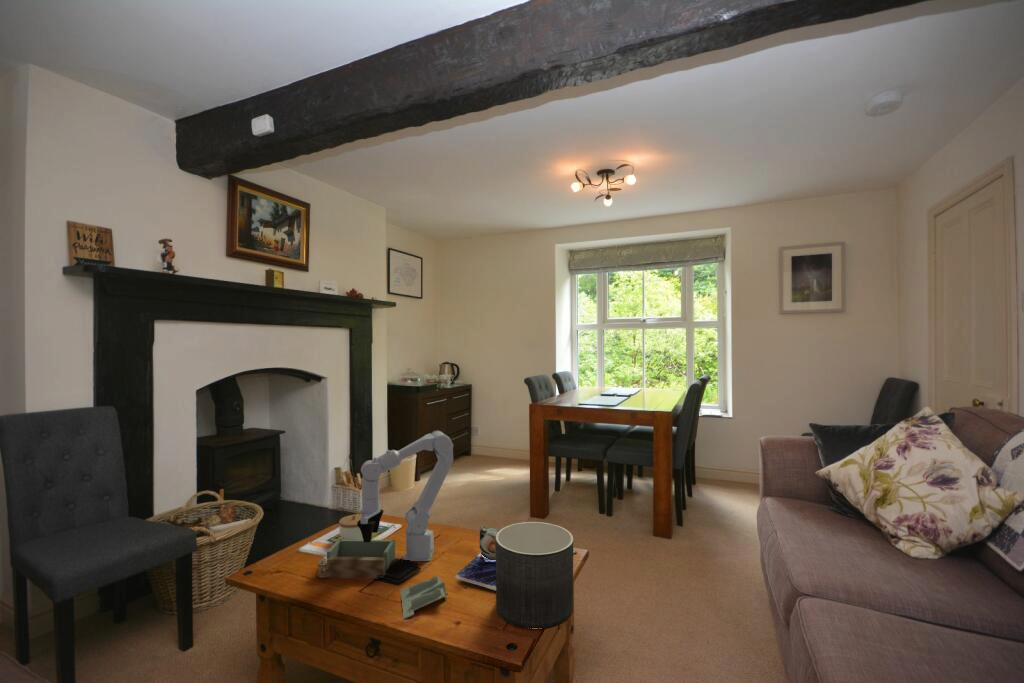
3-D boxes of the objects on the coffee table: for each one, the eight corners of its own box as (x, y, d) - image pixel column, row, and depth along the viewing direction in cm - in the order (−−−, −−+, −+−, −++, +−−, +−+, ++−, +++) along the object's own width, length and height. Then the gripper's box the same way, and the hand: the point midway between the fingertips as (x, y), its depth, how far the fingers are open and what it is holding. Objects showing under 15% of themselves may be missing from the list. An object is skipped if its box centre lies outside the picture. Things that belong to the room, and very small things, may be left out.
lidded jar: (333, 544, 174) (333, 519, 174) (348, 533, 184) (348, 509, 184) (360, 546, 172) (360, 521, 172) (373, 534, 183) (373, 510, 183)
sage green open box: (395, 558, 163) (395, 540, 163) (383, 577, 150) (383, 557, 150) (338, 557, 163) (338, 539, 163) (322, 576, 150) (322, 556, 150)
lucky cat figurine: (526, 560, 161) (519, 533, 155) (497, 582, 156) (489, 554, 149) (503, 534, 173) (495, 507, 166) (475, 553, 167) (466, 526, 161)
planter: (551, 641, 118) (551, 562, 118) (480, 614, 130) (480, 542, 130) (585, 600, 137) (585, 531, 137) (521, 579, 148) (521, 516, 148)
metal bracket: (440, 567, 145) (447, 592, 131) (445, 584, 146) (453, 611, 131) (394, 587, 141) (397, 615, 127) (400, 604, 142) (403, 634, 127)
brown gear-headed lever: (386, 574, 152) (386, 555, 152) (382, 580, 148) (382, 562, 148) (321, 573, 153) (321, 554, 153) (315, 580, 149) (315, 561, 149)
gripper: (366, 490, 166) (366, 528, 166) (351, 504, 151) (351, 546, 151) (385, 490, 166) (386, 528, 166) (373, 504, 151) (373, 546, 151)
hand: (370, 537), depth 158 cm, fingers open, 7 cm apart
